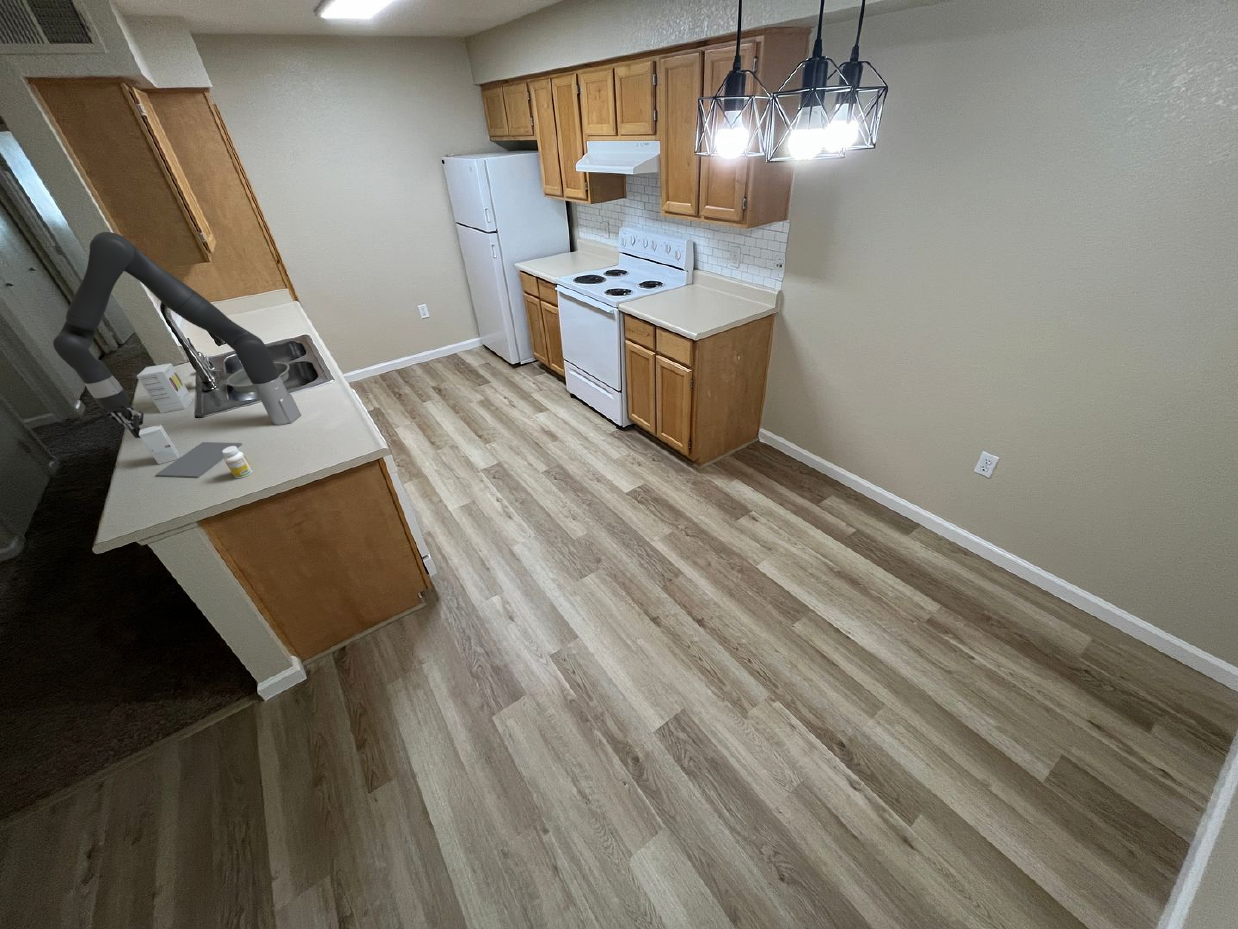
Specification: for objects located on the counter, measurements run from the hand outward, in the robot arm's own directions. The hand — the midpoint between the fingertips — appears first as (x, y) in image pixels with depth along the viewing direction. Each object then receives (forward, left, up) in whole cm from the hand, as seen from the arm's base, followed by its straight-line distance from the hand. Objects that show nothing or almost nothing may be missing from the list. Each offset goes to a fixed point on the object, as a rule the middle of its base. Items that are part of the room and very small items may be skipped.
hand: (140, 436), depth 174 cm
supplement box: (+26, -37, -9) cm, 46 cm away
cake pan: (+4, -60, -9) cm, 61 cm away
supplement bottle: (-41, +7, -9) cm, 43 cm away
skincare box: (-6, 0, -9) cm, 11 cm away
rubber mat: (-18, 0, -9) cm, 21 cm away
